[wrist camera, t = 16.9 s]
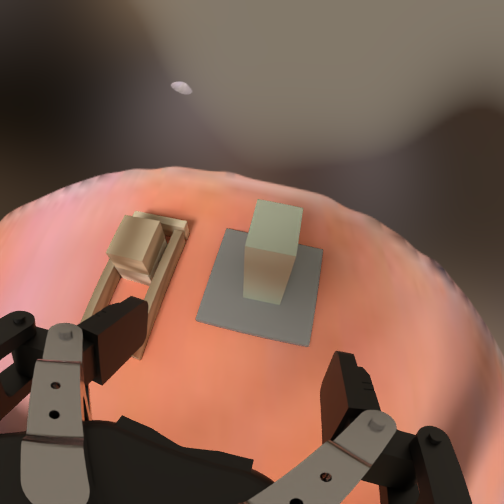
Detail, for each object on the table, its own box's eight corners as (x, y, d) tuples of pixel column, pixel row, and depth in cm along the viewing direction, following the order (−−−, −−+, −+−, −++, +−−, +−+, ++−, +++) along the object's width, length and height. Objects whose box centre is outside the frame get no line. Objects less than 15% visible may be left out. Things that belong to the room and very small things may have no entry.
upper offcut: (165, 237, 32) (159, 221, 29) (149, 275, 29) (142, 261, 27) (132, 230, 32) (124, 215, 30) (115, 267, 30) (105, 252, 27)
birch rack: (189, 233, 36) (187, 221, 34) (140, 360, 27) (132, 355, 25) (140, 222, 36) (135, 210, 34) (87, 338, 28) (76, 331, 26)
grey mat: (321, 252, 35) (323, 249, 34) (307, 347, 29) (309, 345, 28) (226, 231, 36) (226, 228, 36) (196, 320, 30) (195, 319, 29)
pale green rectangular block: (287, 265, 33) (303, 207, 25) (279, 304, 31) (296, 256, 22) (252, 258, 33) (257, 199, 25) (242, 297, 31) (244, 246, 22)
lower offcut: (170, 252, 34) (165, 237, 32) (154, 288, 32) (147, 275, 29) (139, 244, 35) (132, 230, 32) (123, 278, 32) (114, 266, 30)
